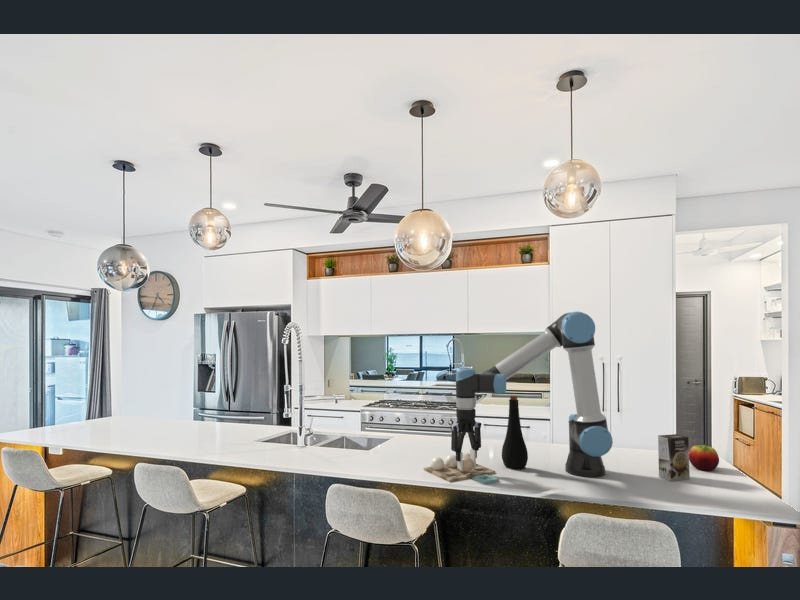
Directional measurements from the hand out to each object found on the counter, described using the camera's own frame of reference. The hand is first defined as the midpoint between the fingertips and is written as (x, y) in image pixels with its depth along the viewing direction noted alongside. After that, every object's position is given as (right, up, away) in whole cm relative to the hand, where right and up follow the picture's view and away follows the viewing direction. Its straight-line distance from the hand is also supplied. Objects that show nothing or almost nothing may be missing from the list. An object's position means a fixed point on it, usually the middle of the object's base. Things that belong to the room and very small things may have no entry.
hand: (466, 467), depth 194 cm
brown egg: (0, -1, 0) cm, 1 cm away
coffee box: (+80, -4, -2) cm, 80 cm away
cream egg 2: (-5, -3, +9) cm, 10 cm away
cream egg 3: (+1, -3, +12) cm, 13 cm away
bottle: (+21, -5, +11) cm, 24 cm away
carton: (-2, -4, +4) cm, 6 cm away
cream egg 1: (-11, -3, +5) cm, 13 cm away
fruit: (+99, -4, +10) cm, 99 cm away
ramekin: (+6, -3, -7) cm, 10 cm away
